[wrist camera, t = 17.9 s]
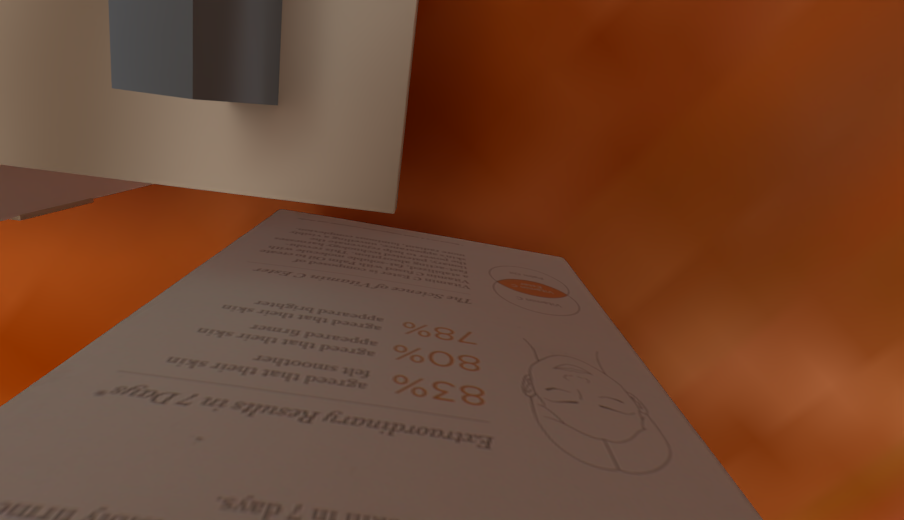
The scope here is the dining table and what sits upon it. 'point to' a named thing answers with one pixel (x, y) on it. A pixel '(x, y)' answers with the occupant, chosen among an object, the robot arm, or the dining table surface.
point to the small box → (360, 395)
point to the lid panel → (212, 94)
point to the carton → (51, 191)
